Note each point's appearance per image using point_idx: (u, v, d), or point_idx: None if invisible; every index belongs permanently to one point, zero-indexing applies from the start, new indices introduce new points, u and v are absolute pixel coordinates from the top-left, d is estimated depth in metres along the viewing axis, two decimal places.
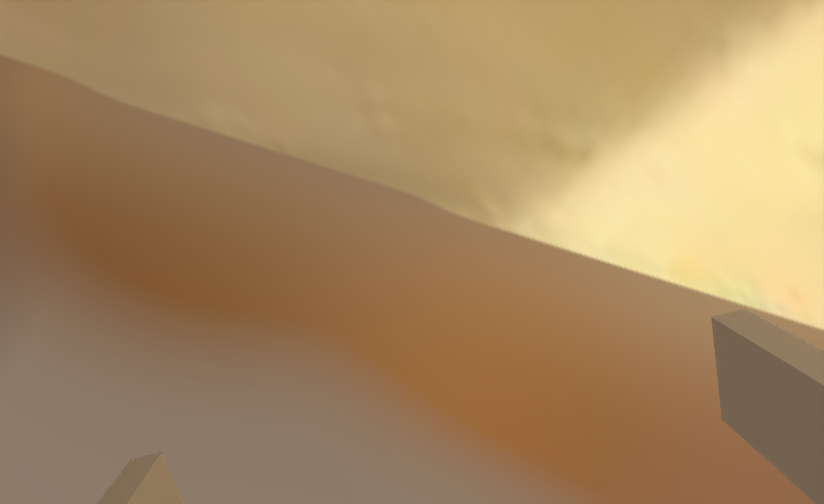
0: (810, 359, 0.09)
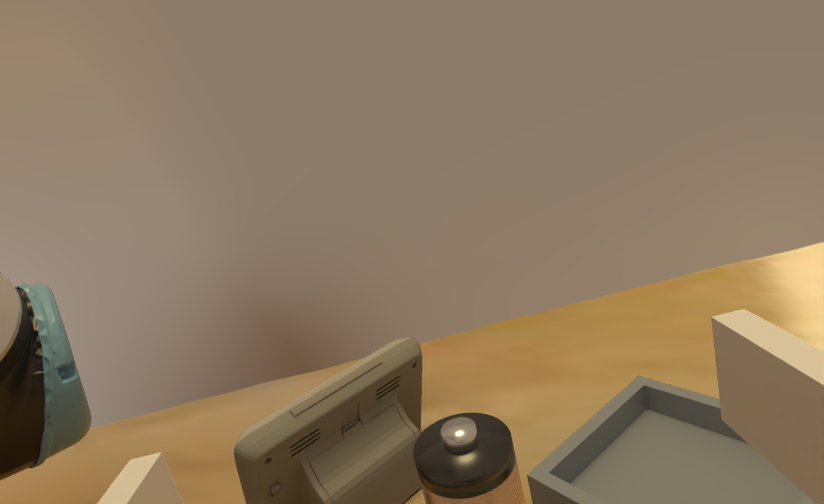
0: (810, 359, 0.09)
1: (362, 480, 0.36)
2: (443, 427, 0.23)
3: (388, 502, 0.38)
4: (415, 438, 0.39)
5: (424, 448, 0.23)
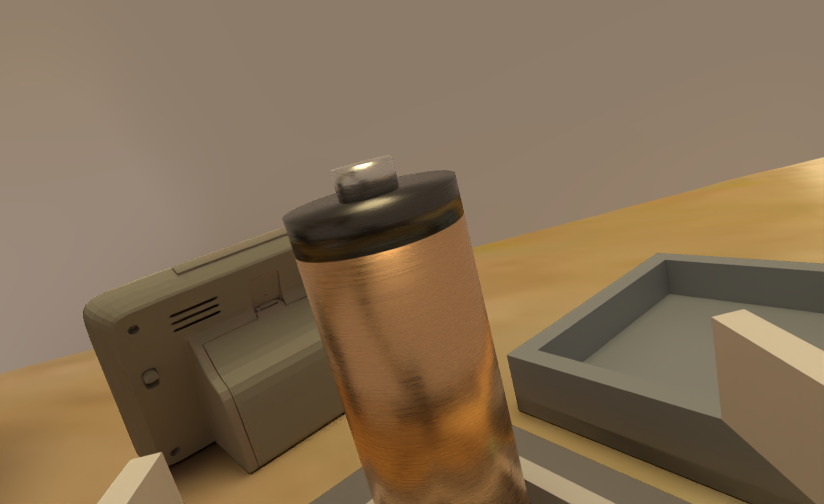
0: (810, 359, 0.09)
1: (279, 372, 0.26)
2: (337, 168, 0.13)
3: (320, 409, 0.27)
4: None
5: (306, 209, 0.13)
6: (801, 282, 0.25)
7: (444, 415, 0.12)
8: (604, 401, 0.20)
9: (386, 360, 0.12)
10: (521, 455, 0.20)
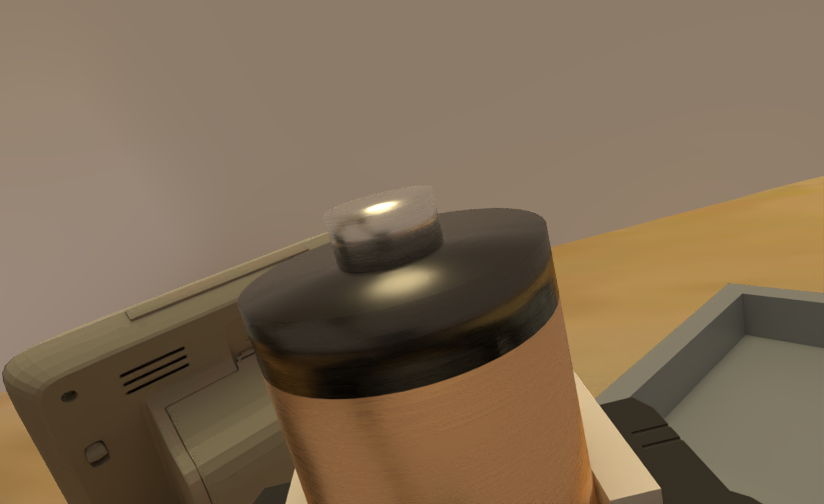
0: None
1: (264, 441, 0.20)
2: (336, 207, 0.08)
3: None
4: None
5: (282, 276, 0.08)
6: None
7: None
8: None
9: None
10: None
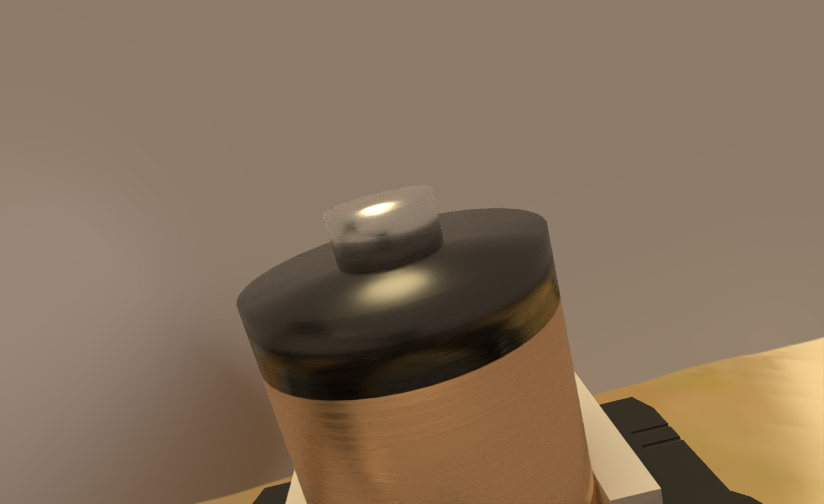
0: None
1: None
2: (336, 208, 0.08)
3: None
4: None
5: (281, 276, 0.08)
6: None
7: None
8: None
9: None
10: None
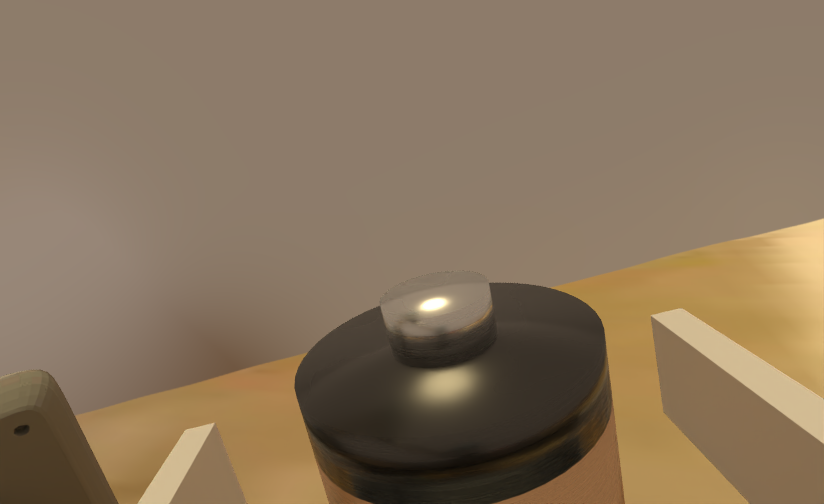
0: (729, 354, 0.10)
1: None
2: (390, 292, 0.08)
3: None
4: None
5: (334, 356, 0.08)
6: None
7: None
8: None
9: None
10: None
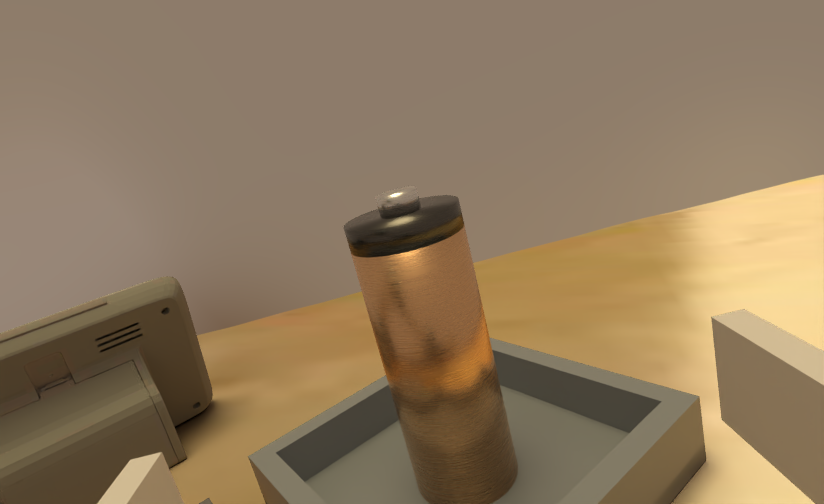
0: (810, 359, 0.09)
1: (50, 455, 0.27)
2: (379, 194, 0.20)
3: (102, 487, 0.28)
4: (152, 404, 0.30)
5: (358, 221, 0.20)
6: (556, 380, 0.25)
7: (449, 358, 0.19)
8: None
9: (412, 320, 0.18)
10: None
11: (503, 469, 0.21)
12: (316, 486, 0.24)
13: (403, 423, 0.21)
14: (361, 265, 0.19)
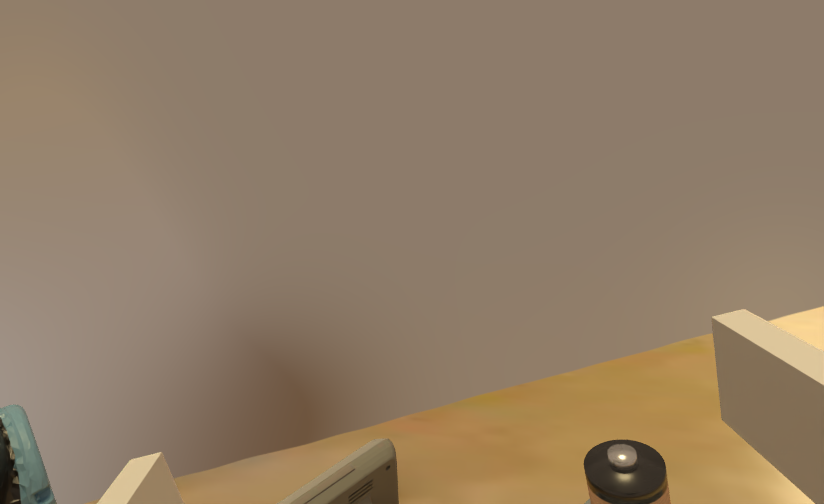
0: (810, 359, 0.09)
1: None
2: (609, 452, 0.31)
3: None
4: None
5: (593, 468, 0.31)
6: None
7: None
8: None
9: None
10: None
11: None
12: None
13: None
14: None
